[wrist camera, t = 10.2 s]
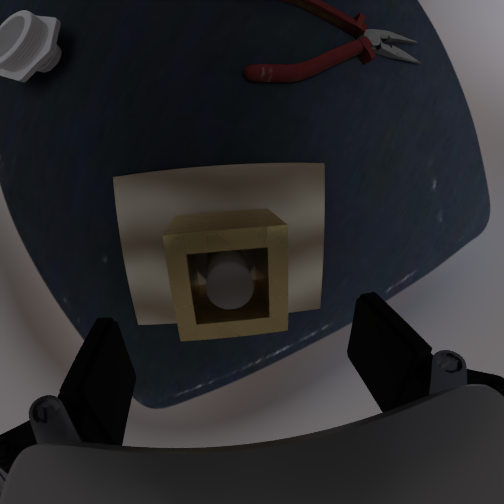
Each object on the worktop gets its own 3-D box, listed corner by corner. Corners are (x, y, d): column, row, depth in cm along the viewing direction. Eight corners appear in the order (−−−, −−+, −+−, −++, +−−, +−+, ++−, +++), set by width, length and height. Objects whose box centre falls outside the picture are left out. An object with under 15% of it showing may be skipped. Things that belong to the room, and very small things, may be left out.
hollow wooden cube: (175, 215, 20) (162, 235, 15) (267, 208, 21) (288, 224, 16) (186, 299, 23) (180, 341, 17) (270, 291, 23) (287, 330, 18)
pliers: (420, 99, 23) (435, 96, 21) (243, 87, 21) (246, 78, 19) (401, 17, 20) (413, 10, 17) (232, -7, 18) (234, -21, 15)
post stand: (117, 176, 22) (68, 185, 13) (319, 162, 24) (373, 165, 15) (140, 318, 26) (118, 379, 17) (316, 302, 28) (354, 355, 20)
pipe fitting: (79, 22, 16) (45, -11, 8) (70, 80, 18) (26, 58, 10) (32, 41, 15) (-8, 20, 7) (23, 98, 17) (-25, 87, 10)
